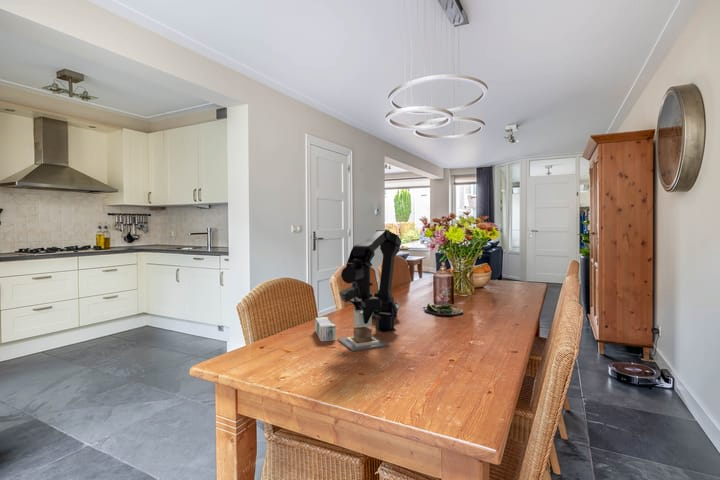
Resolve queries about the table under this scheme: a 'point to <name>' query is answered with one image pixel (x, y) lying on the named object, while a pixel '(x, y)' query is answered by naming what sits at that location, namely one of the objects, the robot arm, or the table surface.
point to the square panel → (362, 344)
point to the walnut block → (362, 334)
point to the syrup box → (325, 329)
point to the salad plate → (442, 310)
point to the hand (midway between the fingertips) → (362, 322)
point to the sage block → (361, 319)
